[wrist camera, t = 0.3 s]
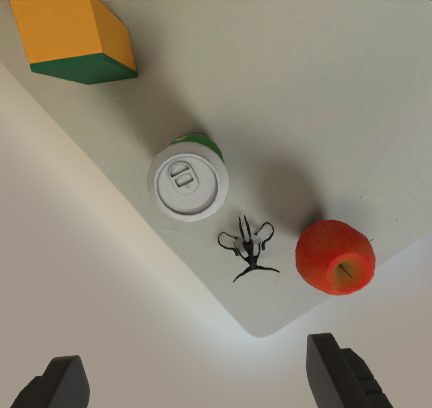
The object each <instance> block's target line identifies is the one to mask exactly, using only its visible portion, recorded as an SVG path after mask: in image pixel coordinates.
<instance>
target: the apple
mask: <svg viewBox="0 0 432 408" xmlns="http://www.w3.org/2000/svg"><path fill="white" fill-rule="evenodd" d="M295 251H296V267H297V270H298V272H299V274H300V275H301V276H302V277H303V279H304V280H305V281H306V282H307V283H309V284H310V285H312V286H313V287H315V288H317V289H319V290H321V291H323V292H325V293H327V294H332V295H347V294H351V293H353V292H356V291H358V290H361V289H362V288H363V287H365V286H366V285H367V284H368V283H369V282H370V281H371V279H372V278H373V276H374V270H375V255H374V252H373V249H372V246H371V244H370V242H369V241H368V239H367V238H366V237H365V236H364V235H363V234H361V233H360V232H358V231H357V230H355V229H354V228H352V227H351V226H349V225H347V224H346V223H343V222H341V221H336V220H320V221H318V222H316V223H314V224H312V225H310V226H308V227H307V228H306V229H305V230H304V232H303V233H302V234H301V236H300V238H299V240H298V242H297V246H296V250H295Z"/></svg>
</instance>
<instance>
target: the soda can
mask: <svg viewBox="0 0 432 408" xmlns="http://www.w3.org/2000/svg"><path fill="white" fill-rule="evenodd" d="M147 184H148V191H149V194H150V196H151V199H152V201H153V202H154V204H155V205H156V206H157V207H158V209H159V210H160V211H161V212H163V213H164V214H166V215H167V216H169V217H170V218H173V219H176V220H179V221H198V220H201V219H205V218H207V217H209V216H210V215H212V214H213V213H215V212H216V211H217V210H218V209H219V207H220V206H221V205H222V204H223V202H224V200H225V198H226V195H227V192H228V184H229V177H228V174H227V170H226V167H225V164H224V160H223V157H222V153H221V151H220V150H219V148H218V147H217V145H216V144H215V143H214V142H213V141H211V140H210V139H209V138H207V137H204V136H202V135H199V134H188V135H185V136H181V137H179V138H178V139H176V140H175V141H173V142H172V143H171V144H170V145H168V146H167V147H166V148H165V149H163V150H162V151H161V152H159V153H158V154H157V156H156V157H155V159H154V160H153V161H152V163H151V164H150V168H149V172H148V175H147Z"/></svg>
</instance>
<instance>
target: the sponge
mask: <svg viewBox="0 0 432 408" xmlns="http://www.w3.org/2000/svg"><path fill="white" fill-rule="evenodd" d="M10 4H11V7H12V10H13V13H14V17H15V20H16V23H17V26H18V29H19V33H20V36H21V39H22V42H23V45H24V48H25V52H26V55H27V58H28V61H29V63H30V68H31V71H32V72H35V73H39V74H44V75H48V76H53V77H57V78H61V79H66V80H70V81H74V82H79V83H83V84H87V85H89V84H96V83H102V82H109V81H115V80H122V79H128V78H135V77H138V76H137V72H136V66H135V61H134V57H133V52H132V47H131V42H130V37H129V33H128V29H127V28H126V27H125V26H124V25H123V24H122V23H121V22H120V21H119V20H118V19H117V18H116V17H115V16H114V14H113V13H112V12H111V11H110V10H109V9H108V8H107V7H106V6H105V5H104V4H103V3H102V2H101V1H100V0H10Z"/></svg>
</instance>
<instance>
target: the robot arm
mask: <svg viewBox="0 0 432 408" xmlns="http://www.w3.org/2000/svg"><path fill="white" fill-rule="evenodd" d="M306 359H307V360H306V370H307V377H308V381H309V385H310V388H311V390H312V393H313V396H314V398H315V401H316V404H317V406H318V408H393V407H392V405H391V404H390V402H389V400H388V399H387V397H386V395H385V394H384V393H383V392H382V389H381V387H380V386H379V384H378V383H377V381H376V380H375V379H374V376H373V375H372V373H371V371H370V370H369V368H368V366H367V365H366V363H365V362H364V360H362V359H361V358H360V357H359V356H358V355H357V354H356V353H355V352H353V351H352V350H351V349H350V348H345V349H340V347H339V346H338V344H337V342H336V340H335V338H334V337H333V335H332V334H331V333H322V334H310V335H308V338H307V358H306ZM89 394H90V388H89V384H88V380H87V377H86V374H85V371H84V368H83V365H82V361H81V359H80V357H79V356H78V355H75V356H64V357H55V358H53V359H52V360H51V362H50V363H49V365H48V367H47V368H46V370H45V372H44V373H43V375H42V376H36V377H35V378H34V379H33V380H32V381H31V382H30V383H29V384H28V385H27V386H26V387H25V388H24V389H23V390H22V391H21V392H20V393H19V395H18V396H17V398H16V399H15V401H14V403H13V404H12V406H11V407H10V408H87V406H88V402H89V396H90V395H89Z"/></svg>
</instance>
